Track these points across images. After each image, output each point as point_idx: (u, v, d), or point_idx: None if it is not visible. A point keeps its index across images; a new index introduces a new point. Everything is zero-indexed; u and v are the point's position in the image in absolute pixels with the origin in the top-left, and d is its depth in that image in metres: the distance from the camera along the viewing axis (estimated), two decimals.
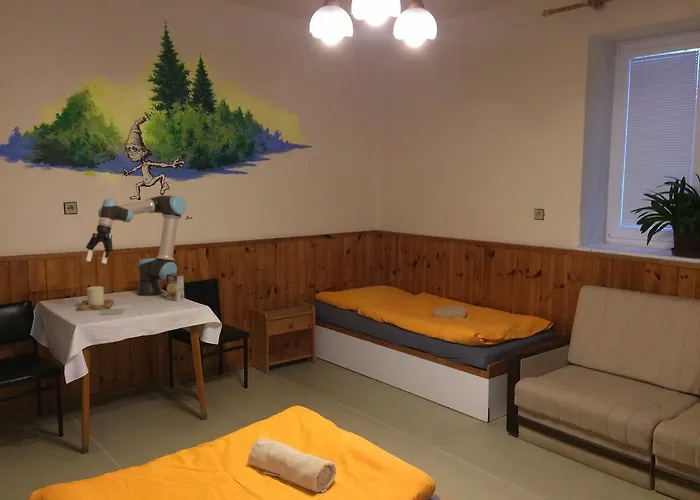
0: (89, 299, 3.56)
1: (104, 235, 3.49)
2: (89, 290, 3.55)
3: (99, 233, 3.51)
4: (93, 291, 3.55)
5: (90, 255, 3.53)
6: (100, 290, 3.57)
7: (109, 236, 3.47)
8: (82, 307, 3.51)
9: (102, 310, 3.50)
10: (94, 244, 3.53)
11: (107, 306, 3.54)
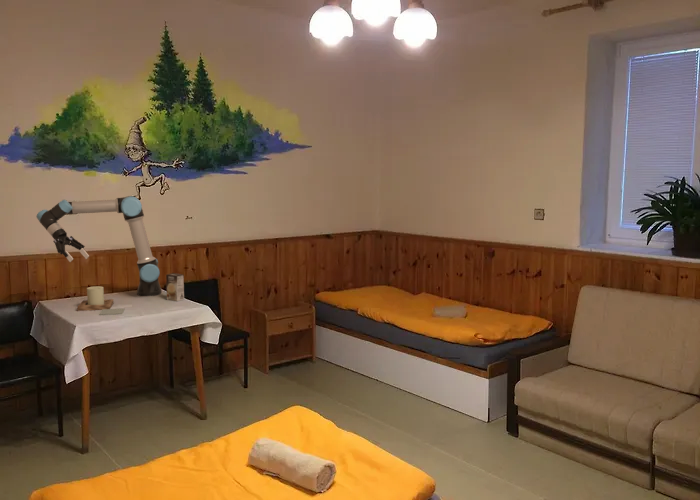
0: (89, 299, 3.56)
1: None
2: (89, 290, 3.55)
3: None
4: (93, 291, 3.55)
5: (83, 253, 3.66)
6: (100, 290, 3.57)
7: (54, 241, 3.55)
8: (82, 307, 3.51)
9: (102, 310, 3.50)
10: (74, 245, 3.65)
11: (107, 306, 3.54)
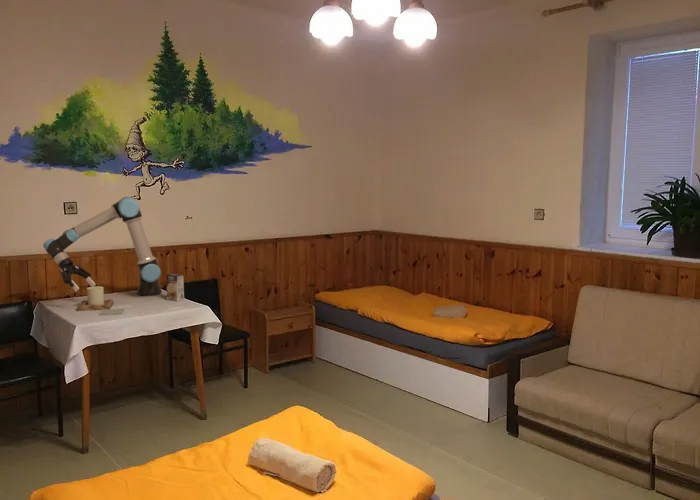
0: (89, 299, 3.56)
1: None
2: (89, 290, 3.55)
3: None
4: (93, 291, 3.55)
5: (90, 281, 3.67)
6: (100, 290, 3.57)
7: (60, 271, 3.56)
8: (82, 307, 3.51)
9: (102, 310, 3.50)
10: (80, 274, 3.66)
11: (107, 306, 3.54)
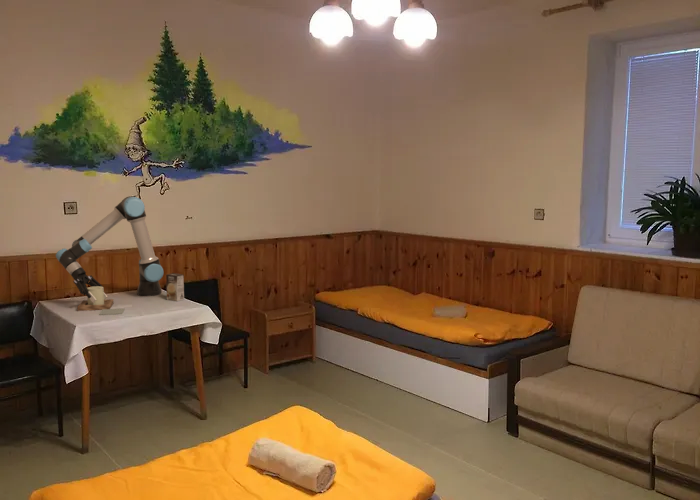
0: (89, 299, 3.56)
1: None
2: (89, 290, 3.55)
3: None
4: (93, 291, 3.55)
5: None
6: (100, 290, 3.57)
7: (75, 282, 3.55)
8: (82, 307, 3.51)
9: (102, 310, 3.50)
10: (92, 285, 3.64)
11: (107, 306, 3.54)
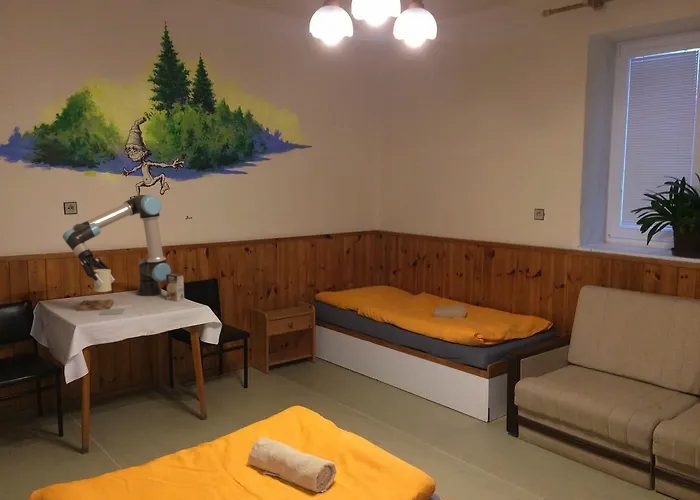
0: (96, 282, 3.45)
1: None
2: (96, 272, 3.44)
3: None
4: (100, 273, 3.44)
5: None
6: (107, 273, 3.46)
7: (81, 264, 3.44)
8: (82, 307, 3.51)
9: (102, 310, 3.50)
10: (100, 268, 3.52)
11: (107, 306, 3.54)
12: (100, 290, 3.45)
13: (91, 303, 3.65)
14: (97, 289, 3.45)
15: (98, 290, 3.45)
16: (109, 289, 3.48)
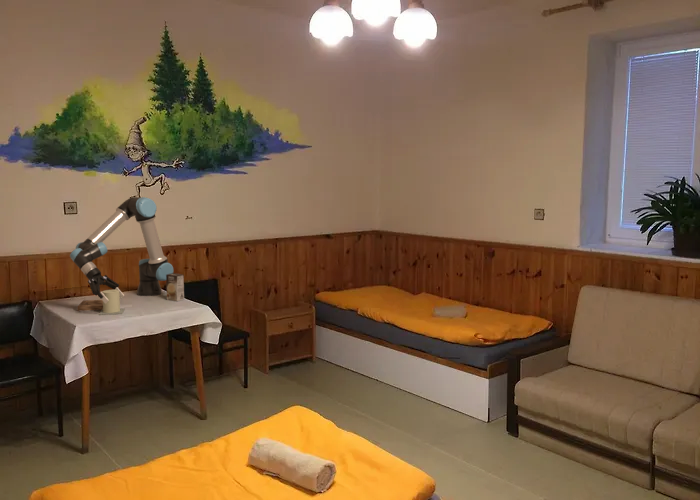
0: None
1: None
2: (105, 294, 3.42)
3: None
4: (109, 295, 3.42)
5: None
6: (116, 294, 3.44)
7: (89, 282, 3.42)
8: (82, 307, 3.51)
9: (102, 310, 3.50)
10: (109, 285, 3.52)
11: None
12: (109, 311, 3.43)
13: (91, 303, 3.65)
14: (106, 311, 3.43)
15: (107, 311, 3.43)
16: (118, 310, 3.47)
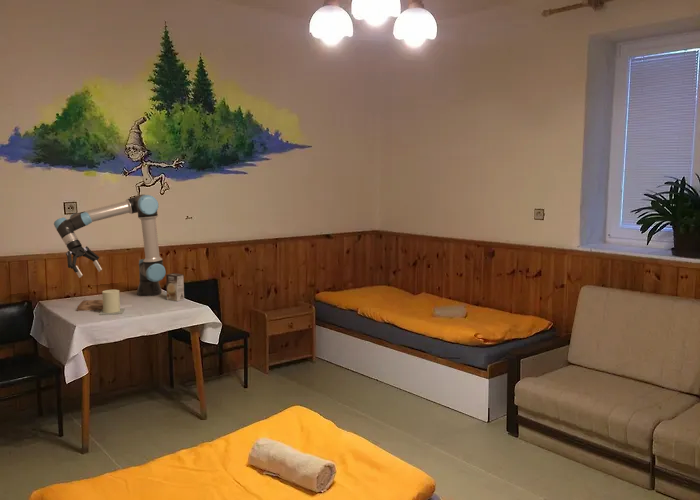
0: (105, 303, 3.43)
1: None
2: (105, 294, 3.42)
3: None
4: (109, 295, 3.42)
5: (97, 265, 3.61)
6: (116, 294, 3.44)
7: (66, 254, 3.50)
8: (82, 307, 3.51)
9: (102, 310, 3.50)
10: (88, 257, 3.60)
11: None
12: (109, 311, 3.43)
13: (91, 303, 3.65)
14: (106, 311, 3.43)
15: (107, 311, 3.43)
16: (118, 310, 3.47)
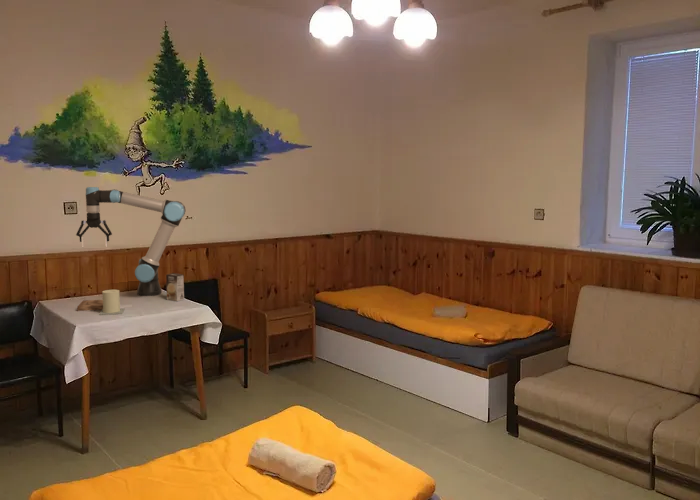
0: (105, 303, 3.43)
1: None
2: (105, 294, 3.42)
3: None
4: (109, 295, 3.42)
5: None
6: (116, 294, 3.44)
7: None
8: (82, 307, 3.51)
9: (102, 310, 3.50)
10: None
11: None
12: (109, 311, 3.43)
13: (91, 303, 3.65)
14: (106, 311, 3.43)
15: (107, 311, 3.43)
16: (118, 310, 3.47)
